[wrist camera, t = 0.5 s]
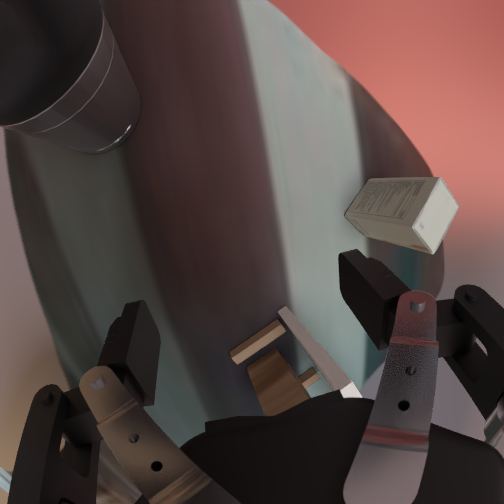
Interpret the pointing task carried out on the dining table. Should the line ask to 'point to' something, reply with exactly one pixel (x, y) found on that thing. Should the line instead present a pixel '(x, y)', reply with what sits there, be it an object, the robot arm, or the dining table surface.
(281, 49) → the dining table surface
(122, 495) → the dining table surface
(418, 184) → the skincare box
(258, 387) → the frame block
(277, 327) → the white upright flat panel
